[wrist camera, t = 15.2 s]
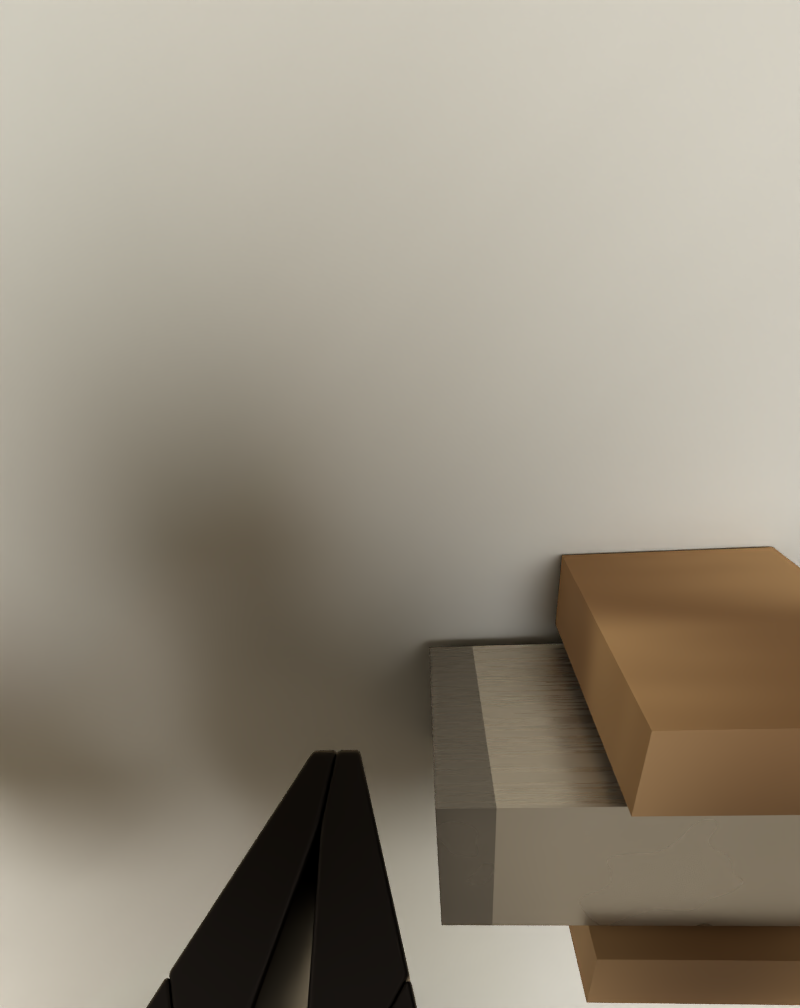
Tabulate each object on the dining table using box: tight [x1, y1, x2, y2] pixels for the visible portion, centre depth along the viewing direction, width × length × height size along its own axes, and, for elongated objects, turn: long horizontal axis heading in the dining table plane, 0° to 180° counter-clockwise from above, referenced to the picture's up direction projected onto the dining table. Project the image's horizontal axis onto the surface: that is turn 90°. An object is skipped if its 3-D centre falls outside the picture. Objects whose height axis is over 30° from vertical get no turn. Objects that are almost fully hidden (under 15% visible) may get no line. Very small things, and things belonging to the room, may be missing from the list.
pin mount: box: [555, 547, 800, 1005], centre depth 8 cm, size 4×7×4 cm, turn 4°
